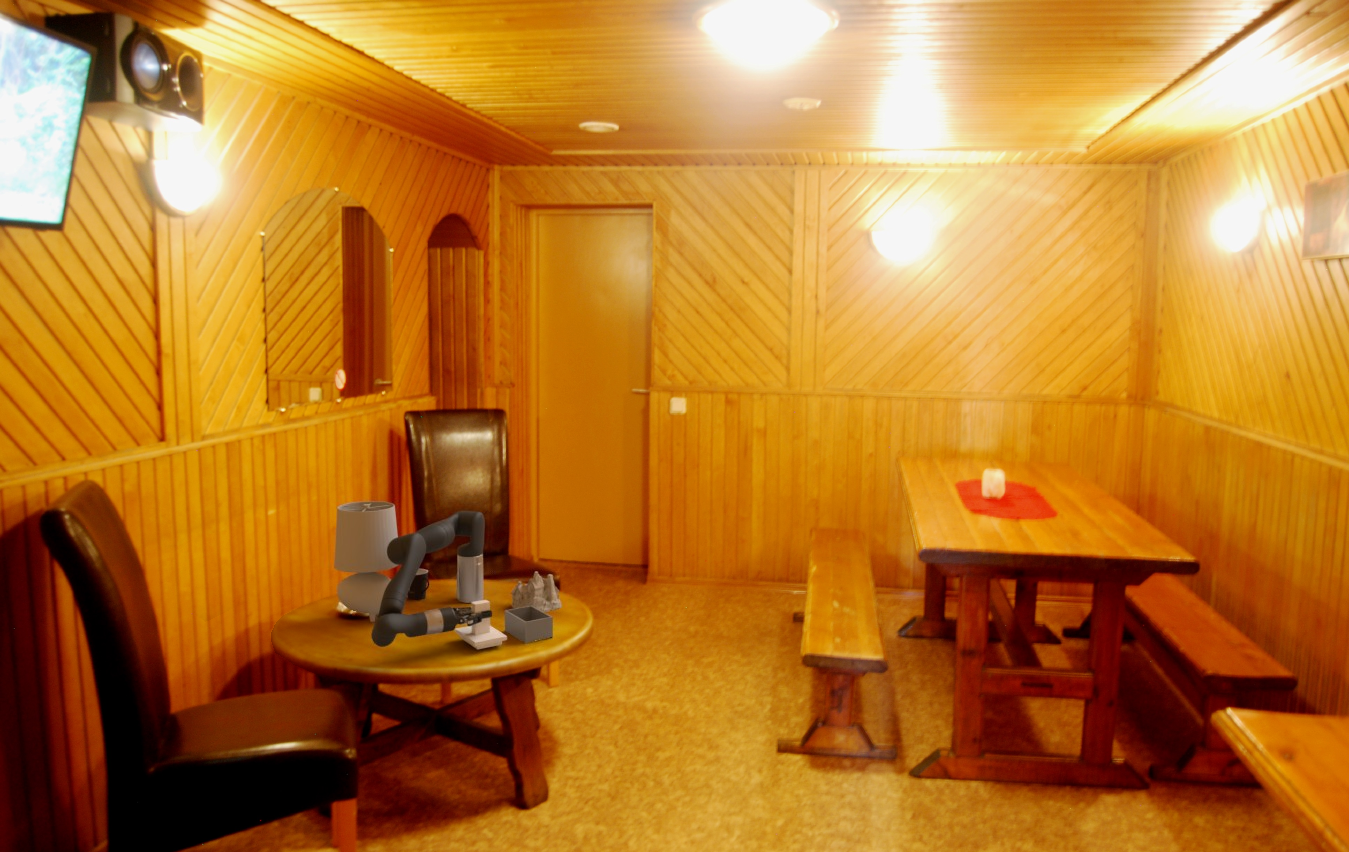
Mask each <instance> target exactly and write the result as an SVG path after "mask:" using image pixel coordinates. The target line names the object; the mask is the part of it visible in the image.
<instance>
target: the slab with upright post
mask: <svg viewBox="0 0 1349 852" xmlns="http://www.w3.org/2000/svg"><path fill="white" fill-rule="evenodd" d="M470 605H471V606H470V607H471V611H473V612H481V611H487V610H491V602H490V601H489V600H487V599H483V600H481V601H475V602H471V603H470ZM454 632H455V633H456V634H457V635H458V636H459V638H460V639H462V640H463V641H465V642H466V643H467V644H468V645H471V647H473V648H474V649H476V650H482V649H486V648H490V647H495V646H496V647H497V646H502V644H503V642H504V641H507V640H508V636H507V635H506V634H504V633H503V632H501V631H500V630H498V629H497V628H494V627H493V626H492V625H491V617H489V618H484V619H482V622H480V623H477V624H474V625H472V626H462V627H457V628H456V627H455V629H454Z"/></svg>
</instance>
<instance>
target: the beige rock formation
mask: <svg viewBox="0 0 1349 852" xmlns="http://www.w3.org/2000/svg"><path fill="white" fill-rule="evenodd" d="M559 593H560V590H559V589H558V587H557V586H556V585H555V581H554V575H553V574H550V573H549V574H547V578H543V577H542V575H540V574H539V571H534V573H533V577H532V578H529V580H528V582H527V583H523V584H522V581H518V582H517V584H516V585H515V586H514V588H513V589H511V592H510V594H511V597H512V602H511V605H510V606H511V607H512V609H516V608H521V607H527V606H533V607H535V608H537V609H539V610H541V611H543V612H545V613H547V612H551V611H550V610H552V611H556V610H559V609H561V608H562V602H561V600H560V595H559ZM558 608H559V609H558ZM555 609H556V610H555Z"/></svg>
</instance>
